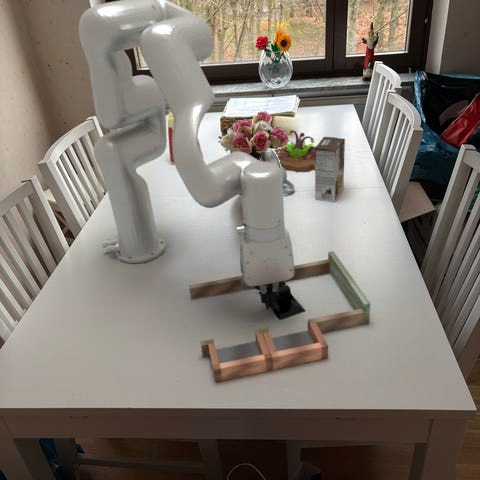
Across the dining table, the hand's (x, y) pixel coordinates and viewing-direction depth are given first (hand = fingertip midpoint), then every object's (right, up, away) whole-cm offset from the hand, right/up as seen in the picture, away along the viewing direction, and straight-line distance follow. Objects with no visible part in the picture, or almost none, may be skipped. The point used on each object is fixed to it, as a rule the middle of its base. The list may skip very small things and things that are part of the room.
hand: (268, 304), depth 102 cm
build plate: (+3, 0, +3) cm, 5 cm away
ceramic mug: (+5, +28, +49) cm, 57 cm away
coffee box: (+20, +27, +44) cm, 55 cm away
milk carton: (-25, +41, +75) cm, 89 cm away
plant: (+14, +40, +68) cm, 80 cm away
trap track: (+2, -3, -2) cm, 4 cm away
